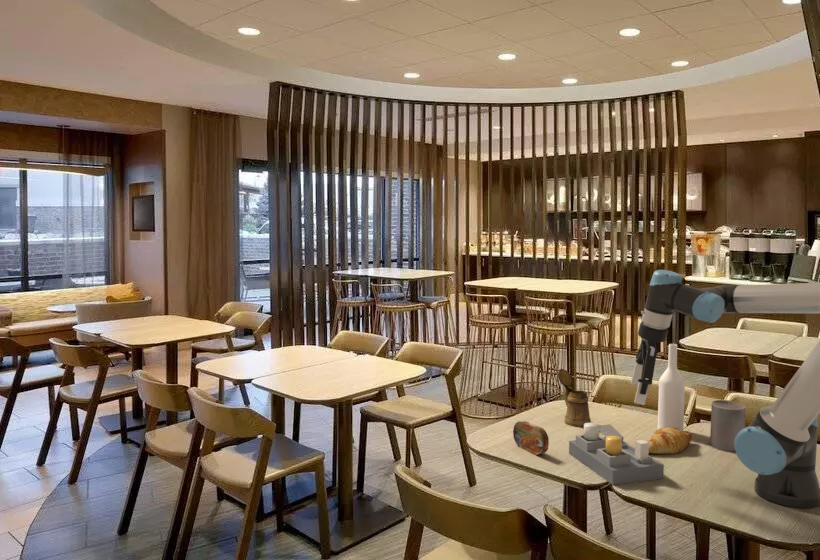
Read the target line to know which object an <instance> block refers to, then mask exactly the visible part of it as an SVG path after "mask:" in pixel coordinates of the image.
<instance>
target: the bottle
mask: <svg viewBox="0 0 820 560" xmlns="http://www.w3.org/2000/svg"><path fill="white" fill-rule="evenodd" d="M667 359H668V361H667V368H666V369H665V371H664V372H663V373H662V375H661V376H660V377H659V381H658V399H657V400H658V405H657V430H658V429H661V428H666V427H672V428H677V429H679V430H680V431H682V432H684V423H685V421H684V419H685V418H684V417H685V416H684V415H685V392H686V391H685V390H686V389H685V388H686V386H685V385H686V382H685V379H684V378H683V376H682V375H681V372H680V370H679V369H678V344H676V343H669V344H668V358H667Z"/></svg>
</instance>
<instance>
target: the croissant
mask: <svg viewBox="0 0 820 560" xmlns="http://www.w3.org/2000/svg"><path fill="white" fill-rule="evenodd" d="M691 441H692V434H691V433H689V432H684V431H683V432H682V431H680V430H679V429H677V428H672V427H666V428H661V429H658V428H657V430H655V431H654V433H653V434H652V436H651V437H650V439H649V440H647V442H648V443H649V454H655V455H666V454H667V455H668V454H669V455H670V454H677V453H680V452H682V451H684V450H685V449H686V448H687V446H688V445H689V444H690V443H691Z"/></svg>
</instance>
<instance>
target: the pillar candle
mask: <svg viewBox="0 0 820 560" xmlns="http://www.w3.org/2000/svg"><path fill="white" fill-rule="evenodd" d="M745 427H746V405H745V404H743V403H742V402H738V401H734V400H730V399H729V400H727V399H725V400H724V399H719V400H714V401H712V402H711V416H710V438H709V439H710V442H709V444H710V446H711V447H712V448H714V449H717V450H720V451H723V452H736V450H735V448H734V441H735V438H736V436H737V434H738V433H739V432H740V430H742V429H743V428H745Z"/></svg>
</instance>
